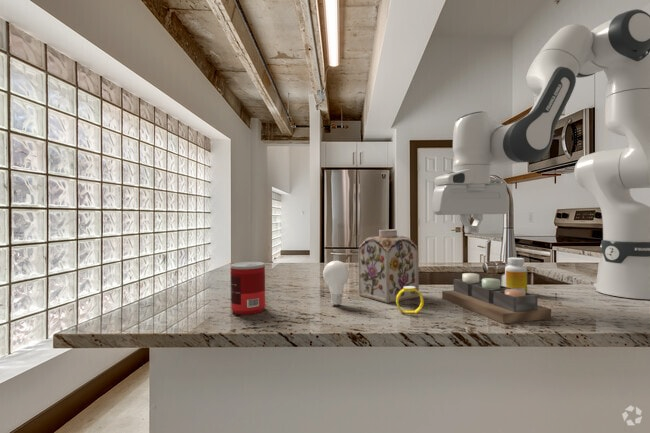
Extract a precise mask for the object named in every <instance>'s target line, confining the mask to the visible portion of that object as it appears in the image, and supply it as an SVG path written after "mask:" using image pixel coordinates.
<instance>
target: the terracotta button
mask: <svg viewBox="0 0 650 433" xmlns="http://www.w3.org/2000/svg"><path fill="white" fill-rule="evenodd" d="M505 294H507V295H510V296H513V297H515V296H525V291H523V290H517V289H506V290H505Z"/></svg>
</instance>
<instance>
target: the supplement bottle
mask: <svg viewBox="0 0 650 433" xmlns="http://www.w3.org/2000/svg"><path fill="white" fill-rule="evenodd" d="M507 264H508V265H506V266H505V267H504V286H505V287H508V288H511V289H517V290H523V291H525V292H527V293H528V268H527V267H526V266H525V258H524V257H523V258H522V257H516V256H515V257H513V256H512V257H508V258H507Z"/></svg>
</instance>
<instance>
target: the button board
mask: <svg viewBox="0 0 650 433" xmlns="http://www.w3.org/2000/svg"><path fill="white" fill-rule="evenodd" d="M506 289H511V288H508V287H505V285H501V284H500V288H499V289H487V288H483V287H482V279H479V282H477V283H467V282H463V281H462V278H458V279H457V278H454V279H453V290H443V291H442V292H441V293H442V294H441V296H442V297H441V298H442V300H444V301H447V302H449V303H451V304H453V305H456V306H459V307H461V308H464V309H466V310H469V311H471V312H473V313H475V314H478V315H481V316H483V317H486V318H488V319H491V320H493V321H496V322H498V323H501V324H503V325H504V324H513V323H522V322H532V321H539V320H540V321H541V320H548V319H549V320H551V319H552V309H551V308H549V307H545V306H542V305H539V304H538V294H534V293H530V292H528V291H527V292H525V296H515V297H513V296H510V295H507V294H505V290H506Z"/></svg>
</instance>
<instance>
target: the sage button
mask: <svg viewBox="0 0 650 433" xmlns="http://www.w3.org/2000/svg"><path fill="white" fill-rule="evenodd" d="M481 280H482V287H483V288H487V289H499V288H500V285H501V279H499V278H492V277H484V278H482V279H481Z"/></svg>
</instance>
